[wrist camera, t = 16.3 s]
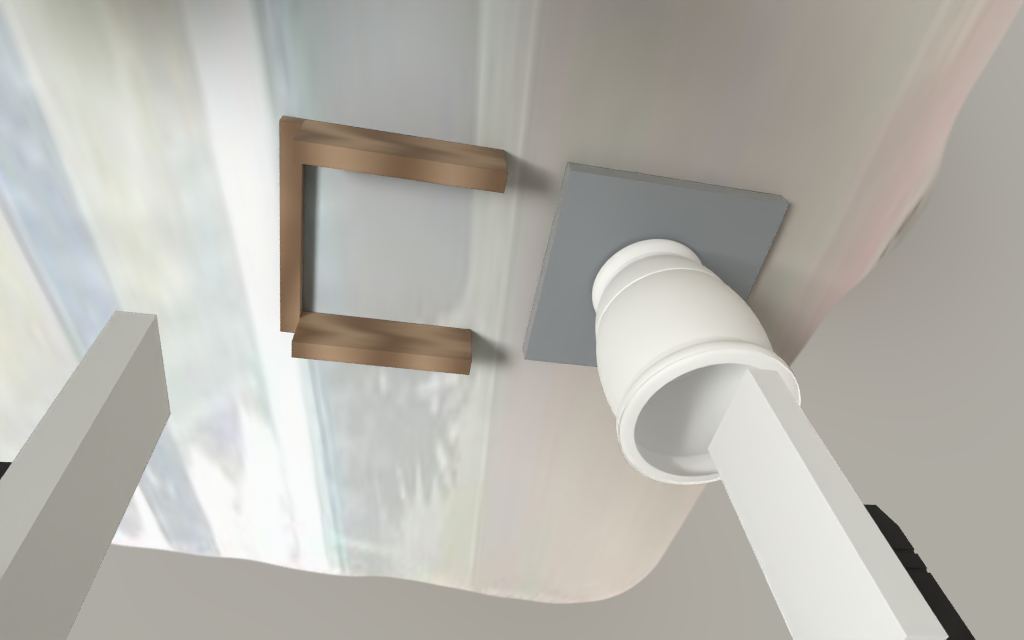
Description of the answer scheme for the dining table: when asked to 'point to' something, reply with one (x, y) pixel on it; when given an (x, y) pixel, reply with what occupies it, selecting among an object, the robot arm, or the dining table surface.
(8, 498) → the robot arm
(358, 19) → the dining table surface
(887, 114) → the dining table surface
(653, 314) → the jar
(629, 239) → the plate
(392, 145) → the brown wooden u-shaped frame
